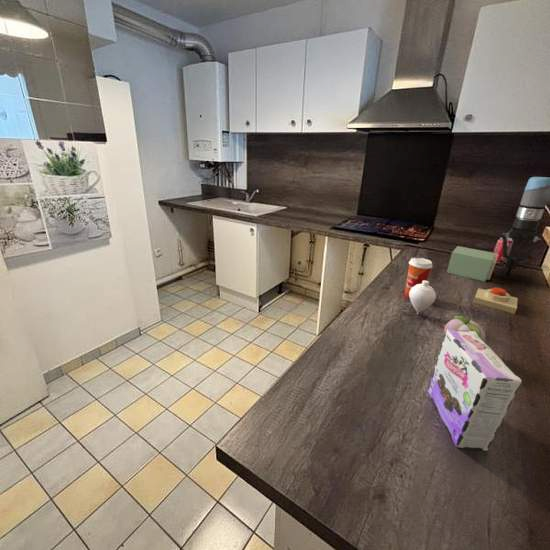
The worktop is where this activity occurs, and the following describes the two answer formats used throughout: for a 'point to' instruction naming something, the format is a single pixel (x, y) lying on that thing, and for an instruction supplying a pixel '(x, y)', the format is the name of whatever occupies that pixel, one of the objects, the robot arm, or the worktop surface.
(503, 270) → the drawer
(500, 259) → the soda can
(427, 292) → the spinning top
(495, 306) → the block
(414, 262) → the paper cup
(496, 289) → the button
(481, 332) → the decorative fruit
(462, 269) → the cabinet
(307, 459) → the worktop surface
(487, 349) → the candy box
